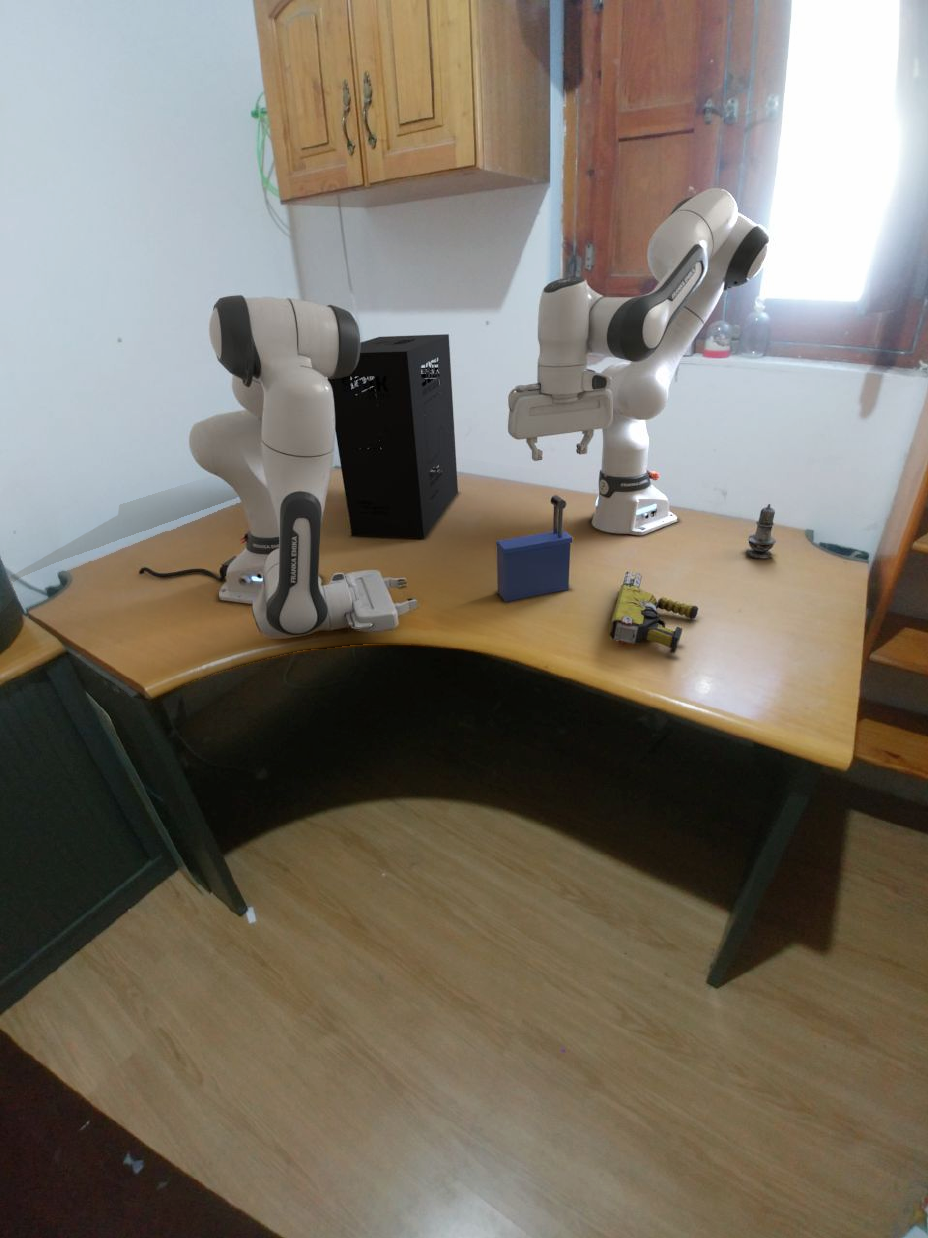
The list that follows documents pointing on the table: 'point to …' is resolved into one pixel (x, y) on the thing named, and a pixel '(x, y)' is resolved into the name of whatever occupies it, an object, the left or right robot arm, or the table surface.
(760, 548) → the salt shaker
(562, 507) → the lid
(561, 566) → the chest
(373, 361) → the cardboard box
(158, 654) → the table surface
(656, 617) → the toy gun
